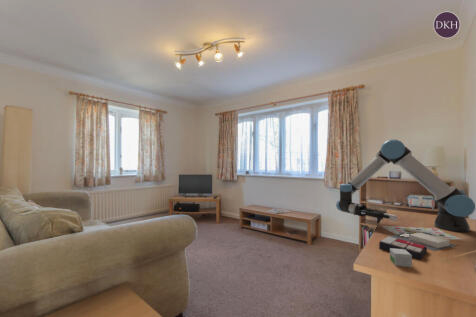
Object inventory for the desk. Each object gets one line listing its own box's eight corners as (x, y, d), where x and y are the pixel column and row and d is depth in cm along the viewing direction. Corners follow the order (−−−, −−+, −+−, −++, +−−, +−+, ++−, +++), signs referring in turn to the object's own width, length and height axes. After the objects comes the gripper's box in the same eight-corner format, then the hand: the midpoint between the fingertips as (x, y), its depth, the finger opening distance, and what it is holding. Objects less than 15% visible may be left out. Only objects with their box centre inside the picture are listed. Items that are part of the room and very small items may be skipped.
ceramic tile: (420, 232, 113) (449, 240, 102) (420, 237, 113) (449, 246, 101) (409, 234, 110) (438, 242, 98) (409, 239, 109) (438, 248, 98)
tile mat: (410, 233, 121) (410, 232, 121) (458, 246, 102) (458, 245, 102) (388, 237, 115) (388, 236, 115) (434, 252, 96) (434, 251, 96)
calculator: (421, 252, 88) (379, 239, 100) (420, 262, 88) (378, 249, 100) (427, 245, 95) (387, 234, 107) (426, 255, 95) (386, 243, 107)
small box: (389, 259, 89) (389, 247, 89) (406, 261, 87) (405, 249, 87) (394, 266, 84) (394, 253, 84) (412, 268, 82) (412, 255, 82)
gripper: (365, 214, 144) (404, 224, 122) (351, 216, 139) (388, 226, 117) (365, 203, 144) (403, 210, 122) (350, 204, 139) (388, 212, 117)
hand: (396, 218), depth 119 cm, fingers closed
